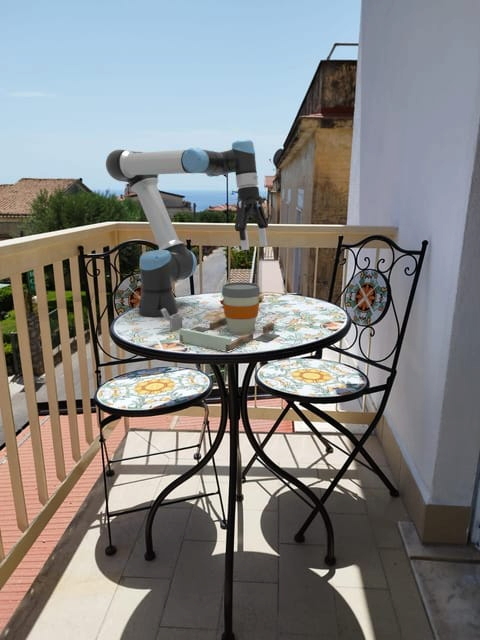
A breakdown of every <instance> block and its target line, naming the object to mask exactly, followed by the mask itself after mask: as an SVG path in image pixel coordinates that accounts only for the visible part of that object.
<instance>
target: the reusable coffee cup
mask: <svg viewBox="0 0 480 640" xmlns="http://www.w3.org/2000/svg"><path fill="white" fill-rule="evenodd" d="M260 288H261V287H260V284H258V283H254V282H244V281H243V282H242V281H240V282H230V283H229V282H227V283H225V284H223V285H222V290H221V295H222V298H223V299H224V302H223V305H222V306H223V313H224V317H226V319H227V324H226V325H227V331H228V332H229V331H230V333H233V334H238V333H239V334H240V333H241V334H244V335H245V334H248V333H253V332H254V331H255V329H256V328H255V327H256V322H257V317H258V315H259V310H260V309H259V308H260V302H258V300H259V295H261V290H260Z"/></svg>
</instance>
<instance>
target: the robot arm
mask: <svg viewBox="0 0 480 640" xmlns="http://www.w3.org/2000/svg"><path fill="white" fill-rule="evenodd" d="M253 142H254V141H252V140H251V139H240V140H236V141H233V142H232V144H231V149H228V150H225V151H220V152H219V151H213V150H208V149H202V148H199V147H190V148H188V149H179V150H164V151H162V150H161V151H160V150H159V151H148V152H147V151H145V152H144V151H133V150H128V149H127V150H126V149H115V150H113V151H111V152H110V153H109V154H108V156H107V157H106V161H105V168H106V171H107V173H108V174H109V176H110V177H111V178H112V179H113V180H115V181H118V182H122V183H123V182H124V183H125V182H126V183H127V184H128V185H129V188H130V190H131V192H133V193H136V195H137V197H138V200H139V202H140V205H141V207H142V209H143V212H144V214H145V217H146V219H147V221H148V225H149V226H150V229H151V231H152V234H153V236H154V238H155V241H156V243H157V247H158V249H156V250H150V251H145V252H144V253H142V254H141V255H140V257H139V264H138V265H139V273H140V274H139V275H140V285H141V286H140V287H141V294H140V295H141V297H140V299H139V303H138V306H137V307H138V308H137V309H138V311H137V312H138V314H139V315H140V316H143V317H150V318H151V317H157V318H158V317H164V316H163V314H162V312H161V310H162V309H163V308H165V309H166V310H167V312H168V313H169V315H170V316H173V315H174V314H178V311H179V308H178V307H179V306H178V304H177V300H176V298H175V296H174V293H173V283H174V282H177V281H182V280H185V279H188V278H190V277H192V276H193V274H194V273H195V272H196V269H197V265H198V263H197V262H198V261H197V258H196V255H195V254H194V252H192V251H191V250H190V249H187V246H186V245H185V242H183V241H181V240H180V239H179V237H178V235H177V233H176V232H177V231H176V230H175V228H174V225H173V222H172V220H171V218H170V215H169V212H168V211H167V208H166V205H165V203H164V201H163V197H162V195H161V193H160V191H159V188H158V182H159V179H158V178H159V175H177V174H205V175H206V176H207V177H209V178H211V177H220V176H223V175H227V174H231V173H234V174H235V181H236V188H238V189H237V190H236V191H237V198H238V200H239V201H237V202H236V216H235V224H234V230H235V231H236V232H239V239H240V247H241V248H240V249H241V251H245V250H246V251H248V250H250V246H249V245H250V244H249V243H250V242H249V236H248V235H249V234H248V230H246V229H247V226H248V221H249V218H250V216H252V217H253V219H254V220H255V221H254V222H255V223H256V224H257V226H258V229H257V233H258V241H259V247H267V246H268V242H267V233H266V232H267V231H266V228H268V227H269V223H268V219H267V216H266V214H265V211H264V208H263V204H262V200H257V199H258V198H260V189H259V186H258V185H259V180H258V177H259V176H258V174H257V173H258V171H257V164H256V162H257V161H256V151H255V146H254V143H253Z"/></svg>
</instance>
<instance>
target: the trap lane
mask: <svg viewBox="0 0 480 640" xmlns="http://www.w3.org/2000/svg"><path fill="white" fill-rule="evenodd" d="M225 325H227V319H226V317H225V316H223V317H221V318H218V319H216V320H213V321H211V322H209V327H202V326H195V327H192V328H190V329H189V330H193V331H198V332H204V333H206V331H207V332H208V331H209V330H211V331H213V329H214V330H215V329H218V328H221V327H223V326H225ZM274 330H275V323H274V322H269V323H267V324H265V325H263V326H262V334H260V335H259V336H257V337H255V338H254V333H253V332H250V333H245V334H244V335H243V336H241V337H237V338H236V339H233V340H232V344H231V345H226V351H230V350H233V349H235V348H237V347H239V346H241V345H243V344H245V343H247V344H248V342H249V343H250V341H251V342H252V341H255V340H256V342H260V341H262V343H266V342H268V343H269V341H270V342H271V341H273V340H274V339H277V338H278V337H280V334H276V333H272V331H274ZM270 332H271V333H270ZM179 342H181V343H184V342H183V335H180V334H179ZM245 345H246V344H245ZM243 346H244V345H243ZM241 347H242V346H241ZM239 348H240V347H239ZM237 349H238V348H237ZM235 350H236V349H235ZM233 351H234V350H233Z"/></svg>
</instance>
